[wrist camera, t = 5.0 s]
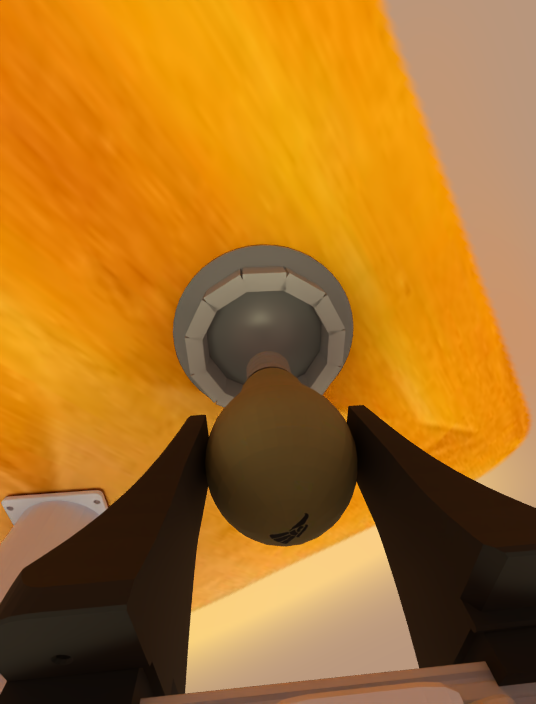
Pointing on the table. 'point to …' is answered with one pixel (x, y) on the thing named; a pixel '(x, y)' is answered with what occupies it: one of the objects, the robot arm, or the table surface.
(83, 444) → the table surface
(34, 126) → the table surface
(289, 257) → the bulb holder
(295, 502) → the light bulb
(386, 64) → the table surface
